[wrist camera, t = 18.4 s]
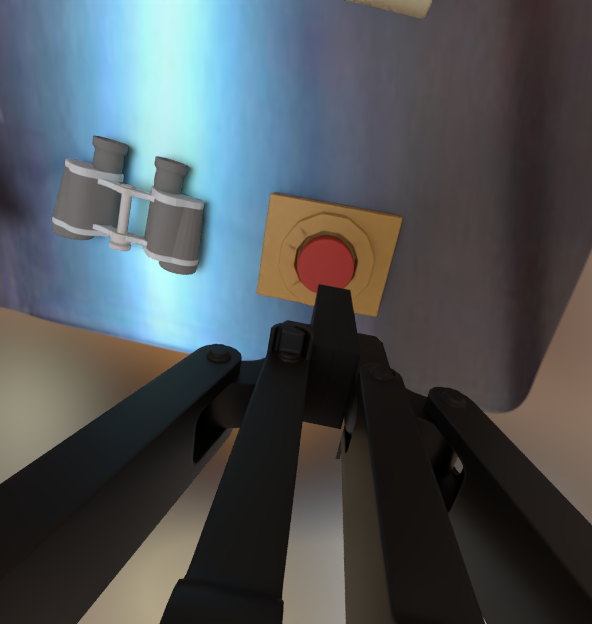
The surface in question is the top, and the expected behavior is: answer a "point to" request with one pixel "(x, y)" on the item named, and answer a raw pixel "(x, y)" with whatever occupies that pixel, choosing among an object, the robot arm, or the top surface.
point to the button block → (334, 222)
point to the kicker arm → (400, 6)
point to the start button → (325, 263)
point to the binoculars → (106, 203)
